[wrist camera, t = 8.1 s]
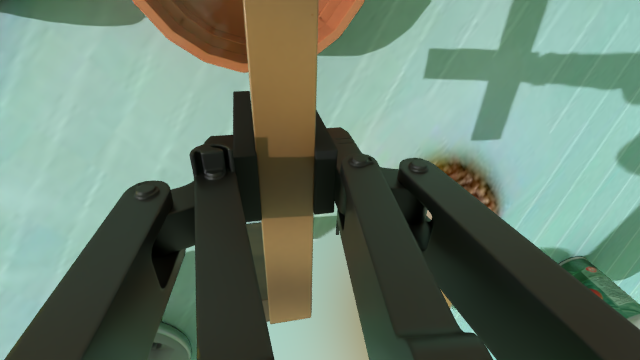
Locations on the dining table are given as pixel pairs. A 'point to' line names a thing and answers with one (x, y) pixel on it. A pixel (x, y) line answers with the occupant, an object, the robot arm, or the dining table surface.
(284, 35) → the ladle
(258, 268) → the dark upright slab
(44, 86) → the dining table surface
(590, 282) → the canned tomato
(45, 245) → the dining table surface
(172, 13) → the bowl
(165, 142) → the dining table surface
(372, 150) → the dining table surface
